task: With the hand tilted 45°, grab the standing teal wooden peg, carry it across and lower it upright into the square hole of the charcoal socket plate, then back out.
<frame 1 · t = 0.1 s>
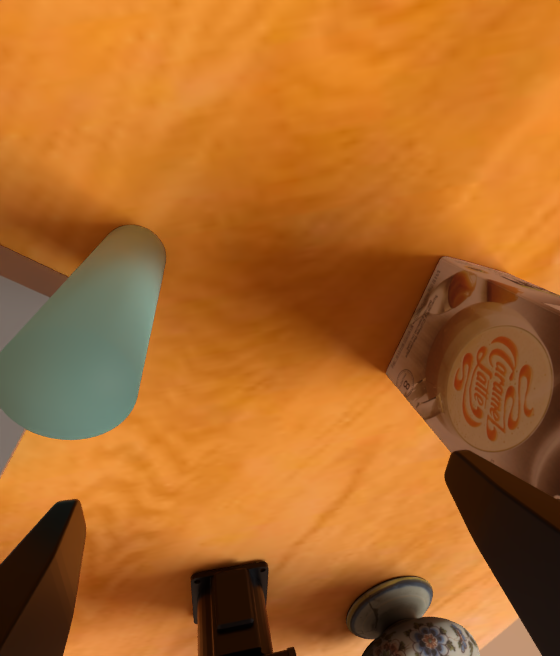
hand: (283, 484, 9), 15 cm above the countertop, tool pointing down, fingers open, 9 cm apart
coffee box: (444, 325, 27), on the countertop
apothecary jar: (388, 603, 41), on the countertop
teal peg: (134, 255, 20), on the countertop
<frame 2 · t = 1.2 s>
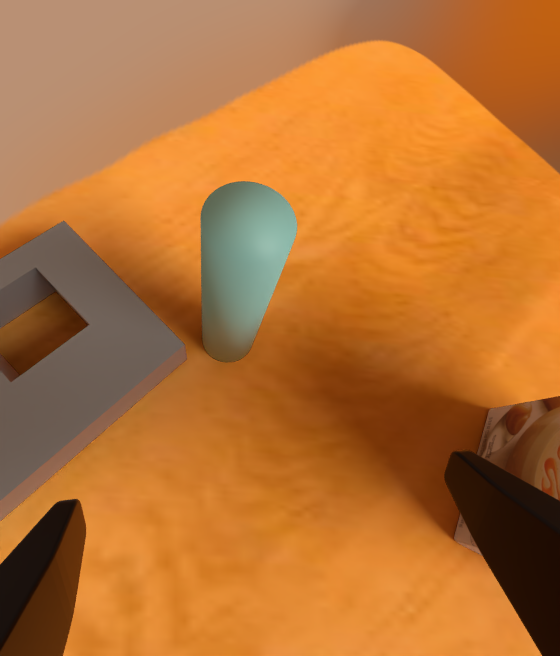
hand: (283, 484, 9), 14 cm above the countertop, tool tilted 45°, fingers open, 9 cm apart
coffee box: (510, 491, 25), on the countertop
teal peg: (227, 337, 24), on the countertop
socket plate: (46, 339, 22), on the countertop
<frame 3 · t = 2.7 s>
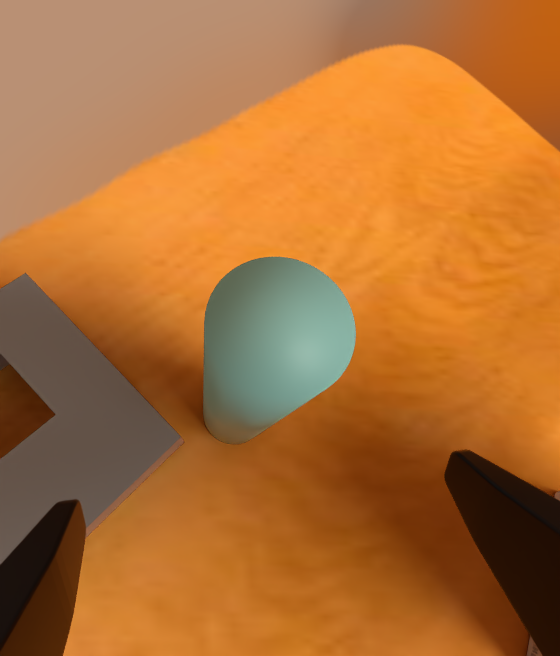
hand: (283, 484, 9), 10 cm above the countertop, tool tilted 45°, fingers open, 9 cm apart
teal peg: (235, 411, 19), on the countertop
socket plate: (4, 423, 17), on the countertop
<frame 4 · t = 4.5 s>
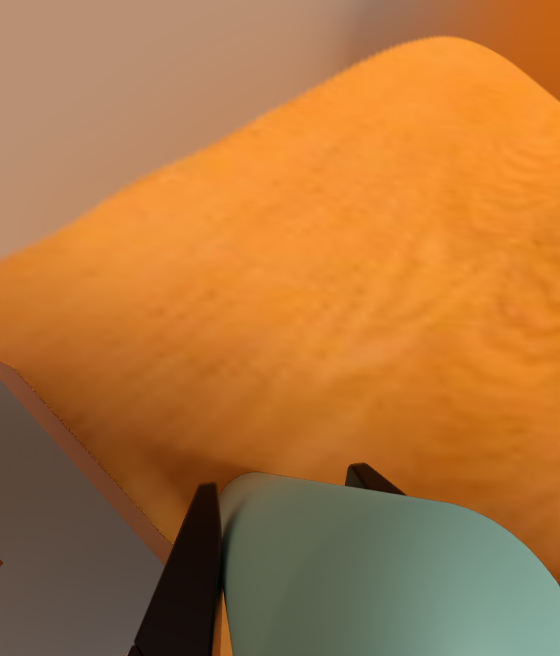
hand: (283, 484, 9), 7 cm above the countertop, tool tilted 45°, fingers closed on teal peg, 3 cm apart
teal peg: (255, 516, 15), on the countertop, touching gripper
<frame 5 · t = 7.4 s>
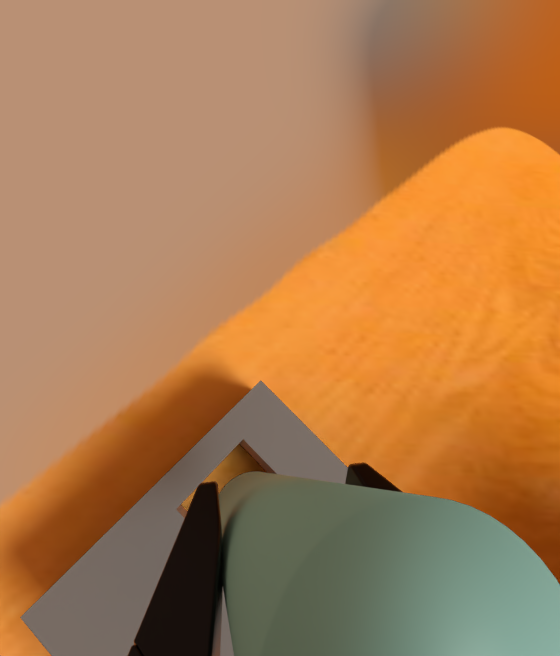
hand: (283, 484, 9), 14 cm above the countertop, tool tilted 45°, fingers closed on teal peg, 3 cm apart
teal peg: (254, 515, 15), point 7 cm above the countertop, touching gripper
socket plate: (237, 500, 21), on the countertop
when the fingers open (9 cm above the countertop, at t = 10.5 s): teal peg drops 2 cm, resting in socket plate.
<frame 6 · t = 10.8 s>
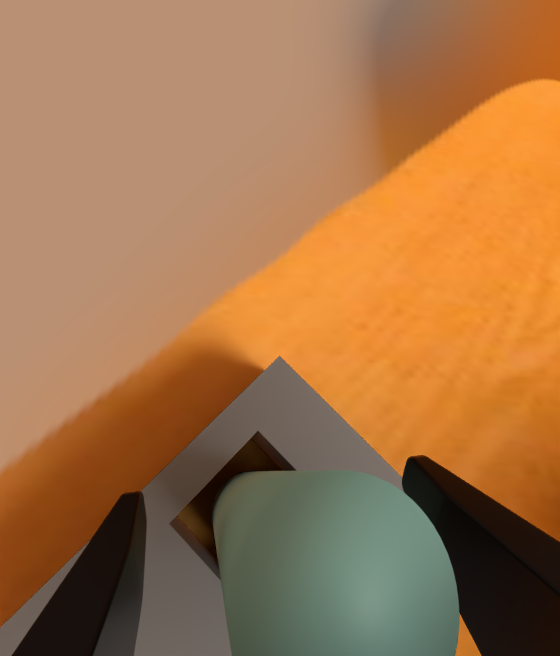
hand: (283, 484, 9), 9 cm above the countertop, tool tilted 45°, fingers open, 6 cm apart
teal peg: (249, 510, 17), resting in socket plate
socket plate: (248, 510, 17), on the countertop
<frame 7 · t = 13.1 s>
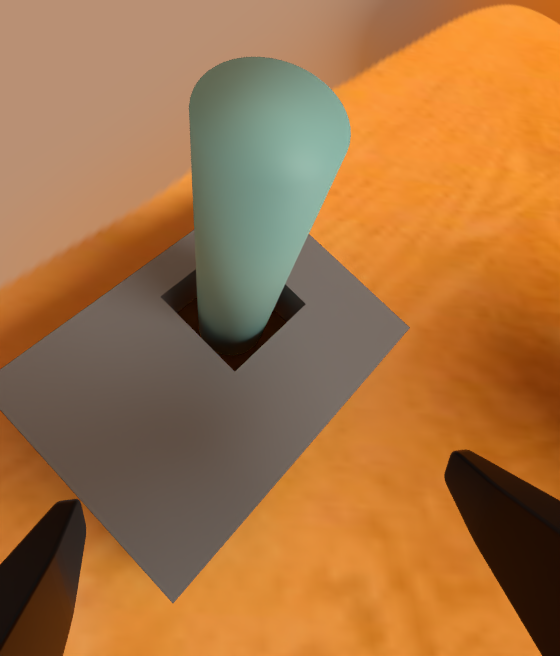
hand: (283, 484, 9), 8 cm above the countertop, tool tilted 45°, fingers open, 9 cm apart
teal peg: (231, 324, 19), resting in socket plate
socket plate: (230, 324, 19), on the countertop
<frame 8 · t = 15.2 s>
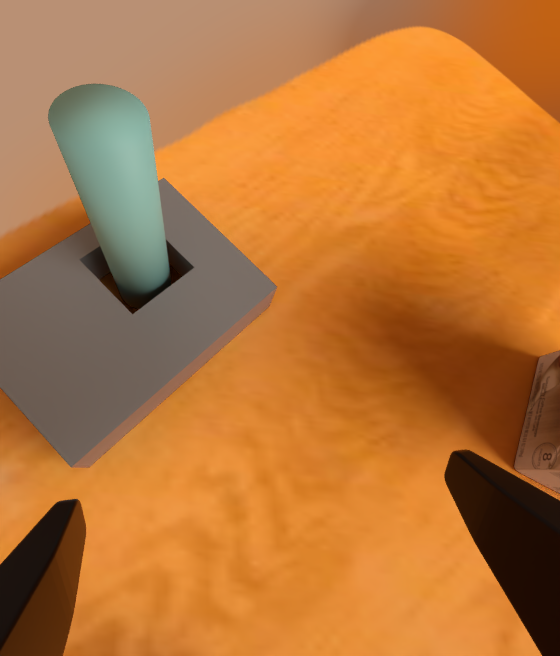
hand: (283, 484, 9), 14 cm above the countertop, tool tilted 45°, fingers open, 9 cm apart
teal peg: (145, 286, 24), resting in socket plate
socket plate: (145, 286, 24), on the countertop
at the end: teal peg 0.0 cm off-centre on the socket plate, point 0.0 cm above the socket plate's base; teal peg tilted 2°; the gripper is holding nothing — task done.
